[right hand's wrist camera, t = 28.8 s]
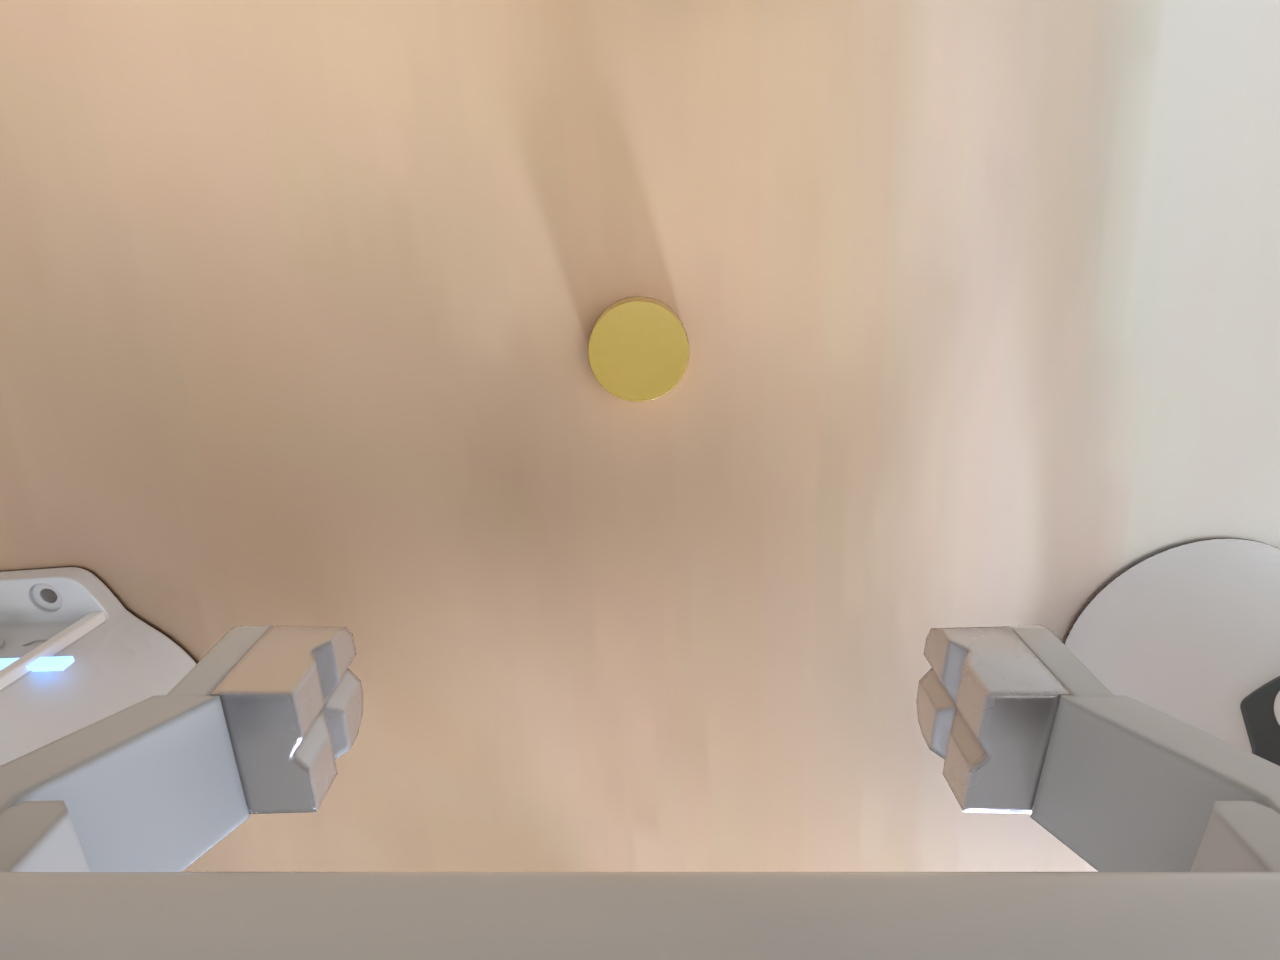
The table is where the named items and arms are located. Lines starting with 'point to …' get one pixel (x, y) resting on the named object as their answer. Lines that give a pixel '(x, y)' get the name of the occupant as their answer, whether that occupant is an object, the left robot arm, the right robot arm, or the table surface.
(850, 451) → the table surface
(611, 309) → the lid
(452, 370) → the table surface
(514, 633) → the table surface
